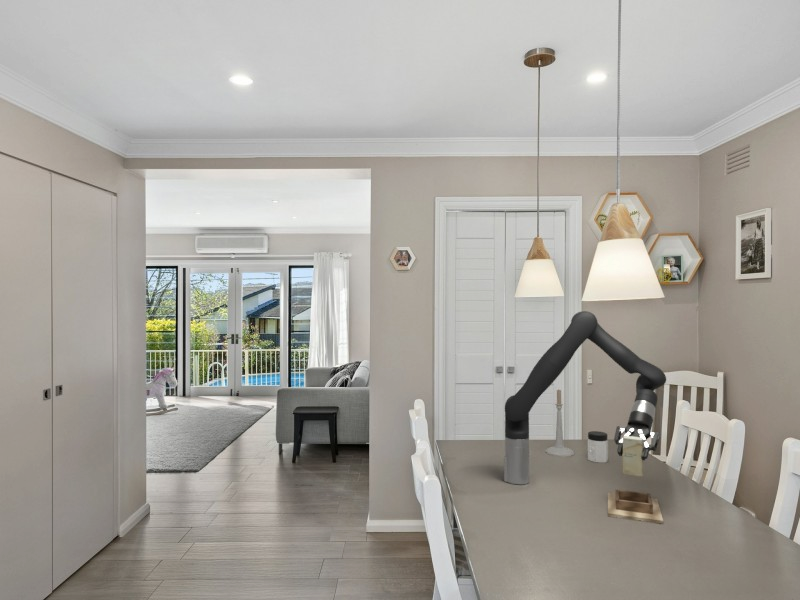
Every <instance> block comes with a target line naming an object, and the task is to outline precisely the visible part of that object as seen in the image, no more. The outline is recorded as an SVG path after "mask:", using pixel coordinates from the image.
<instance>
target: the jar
mask: <svg viewBox="0 0 800 600" xmlns="http://www.w3.org/2000/svg"><path fill="white" fill-rule="evenodd" d="M587 460H588V461H590V462H592V463H593V462H594V463H596V462H598V463H604V464H606V463H607V462H608V461H609V439H608V433H606V432H603V431H597V430H595V431H593V430H592V431H589V432H587Z"/></svg>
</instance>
